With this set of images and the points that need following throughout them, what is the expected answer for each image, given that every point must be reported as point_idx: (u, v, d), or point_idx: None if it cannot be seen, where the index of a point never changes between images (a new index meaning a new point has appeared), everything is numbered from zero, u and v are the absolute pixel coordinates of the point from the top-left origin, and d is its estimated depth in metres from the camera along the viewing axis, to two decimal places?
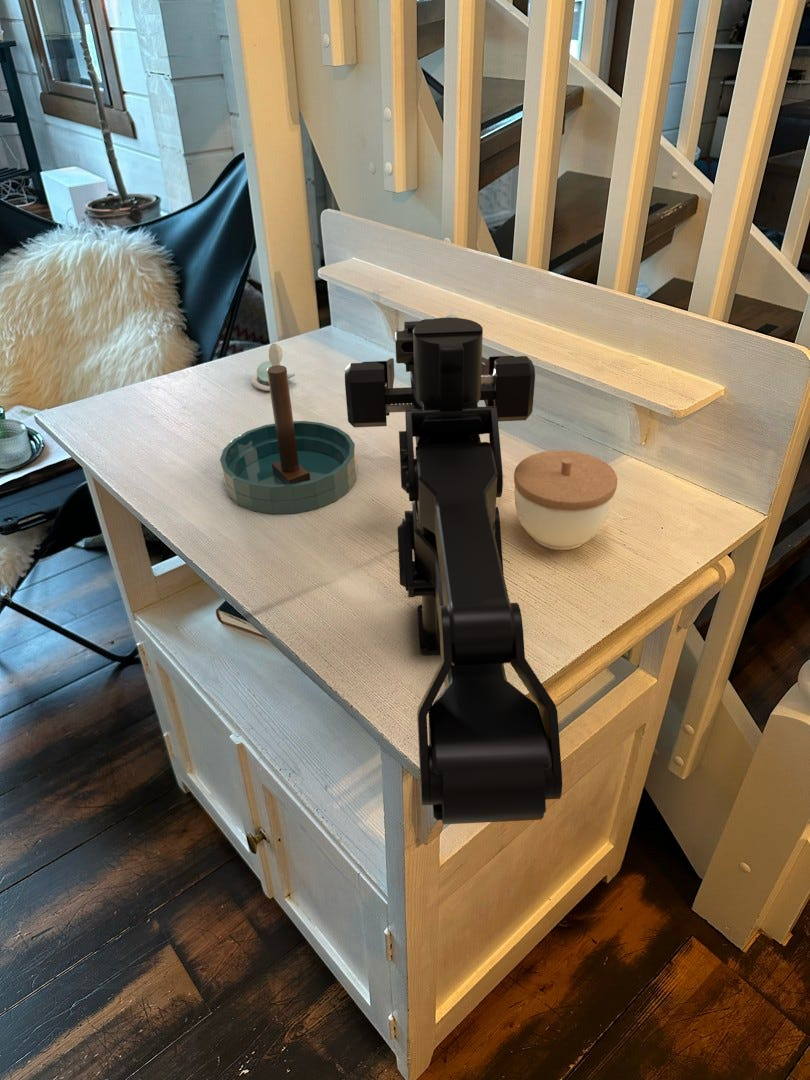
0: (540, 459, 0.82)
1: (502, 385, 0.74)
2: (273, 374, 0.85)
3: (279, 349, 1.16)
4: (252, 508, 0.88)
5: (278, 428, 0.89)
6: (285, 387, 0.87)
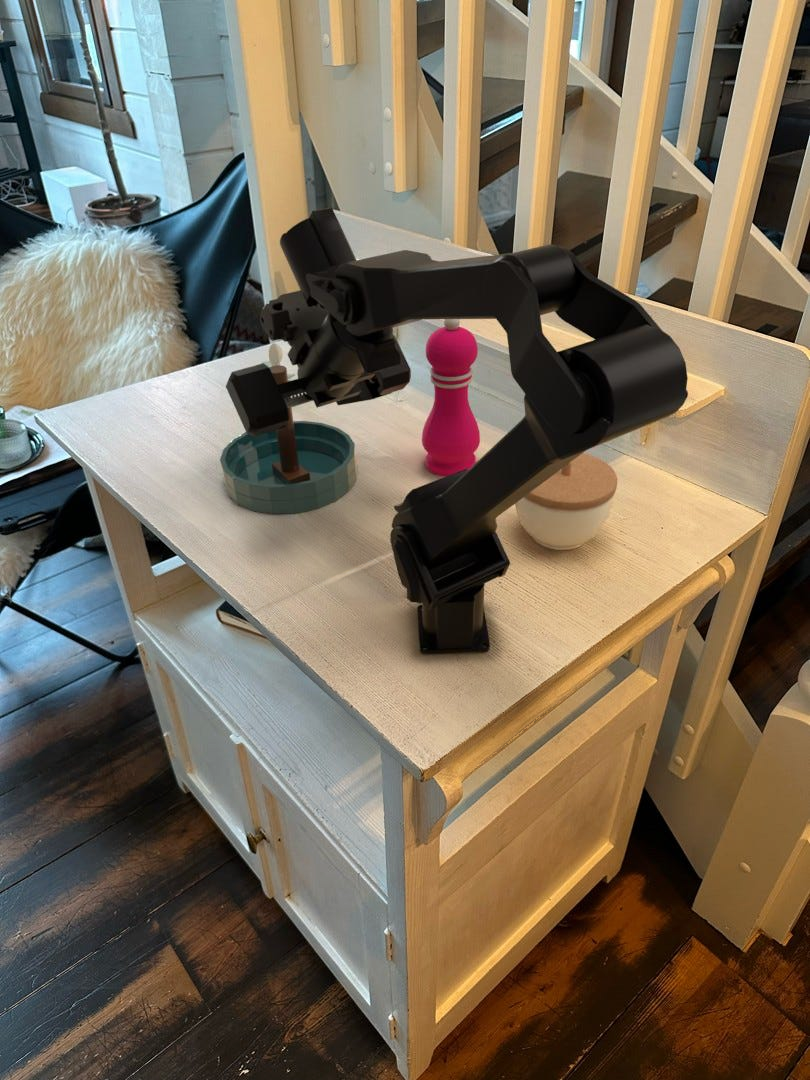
0: None
1: None
2: (273, 374, 0.85)
3: (279, 349, 1.16)
4: (252, 508, 0.88)
5: None
6: None
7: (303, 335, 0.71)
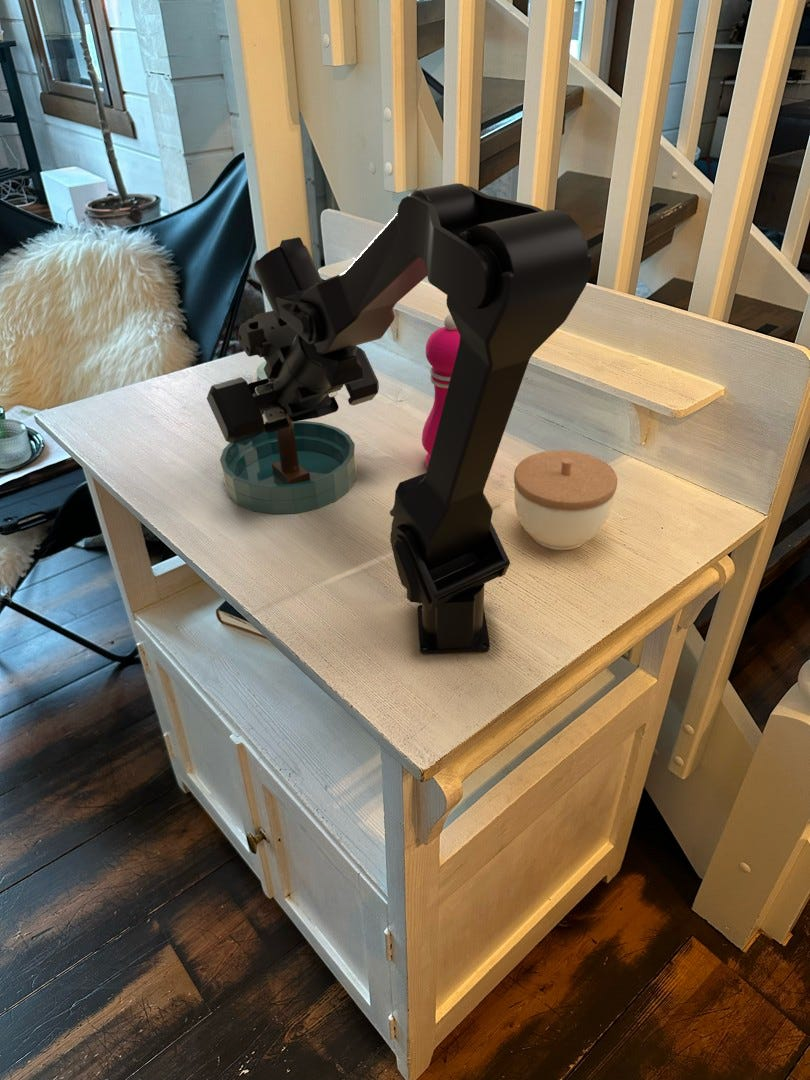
0: (540, 459, 0.82)
1: None
2: None
3: None
4: (252, 508, 0.88)
5: None
6: None
7: (276, 351, 0.78)
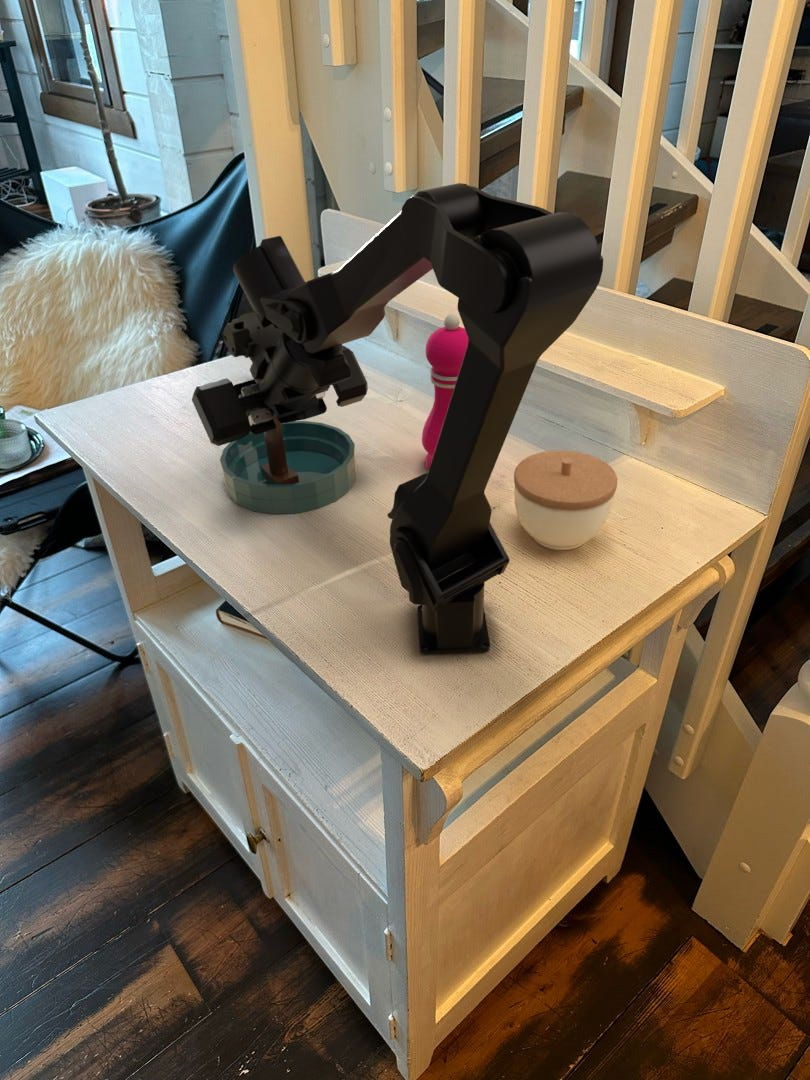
0: (540, 459, 0.82)
1: None
2: None
3: None
4: (252, 508, 0.88)
5: None
6: None
7: (262, 352, 0.77)
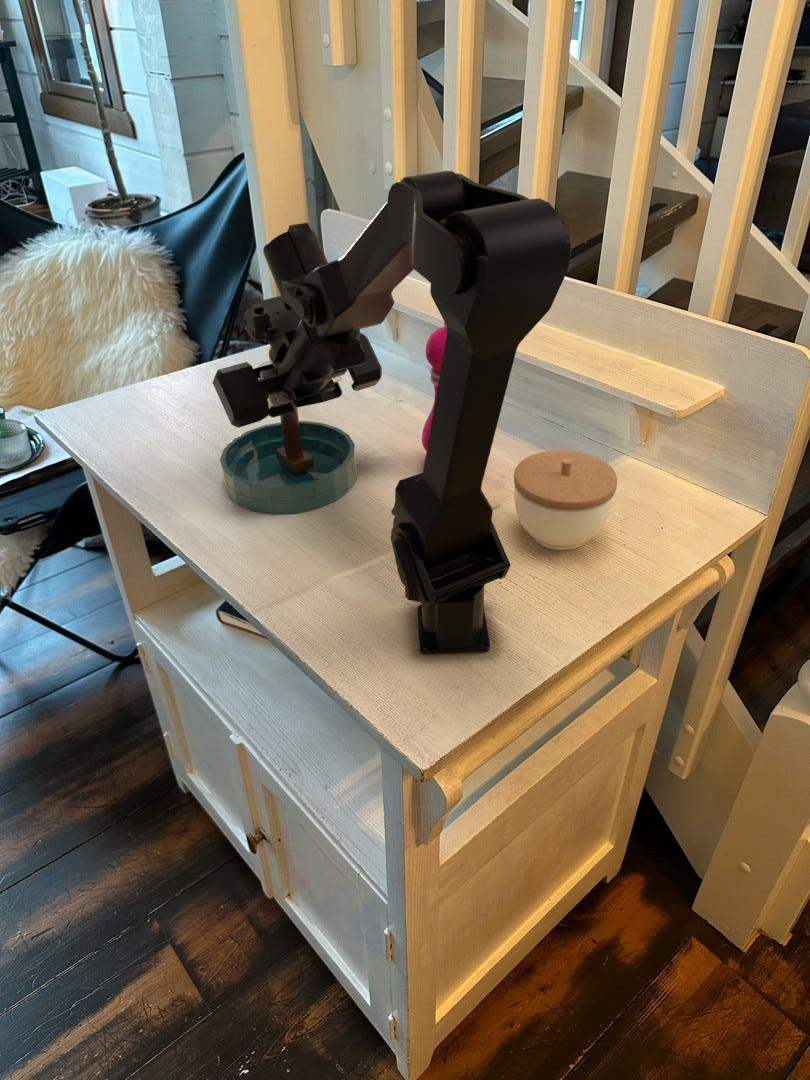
0: (540, 459, 0.82)
1: None
2: None
3: None
4: (252, 508, 0.88)
5: None
6: None
7: (281, 336, 0.79)
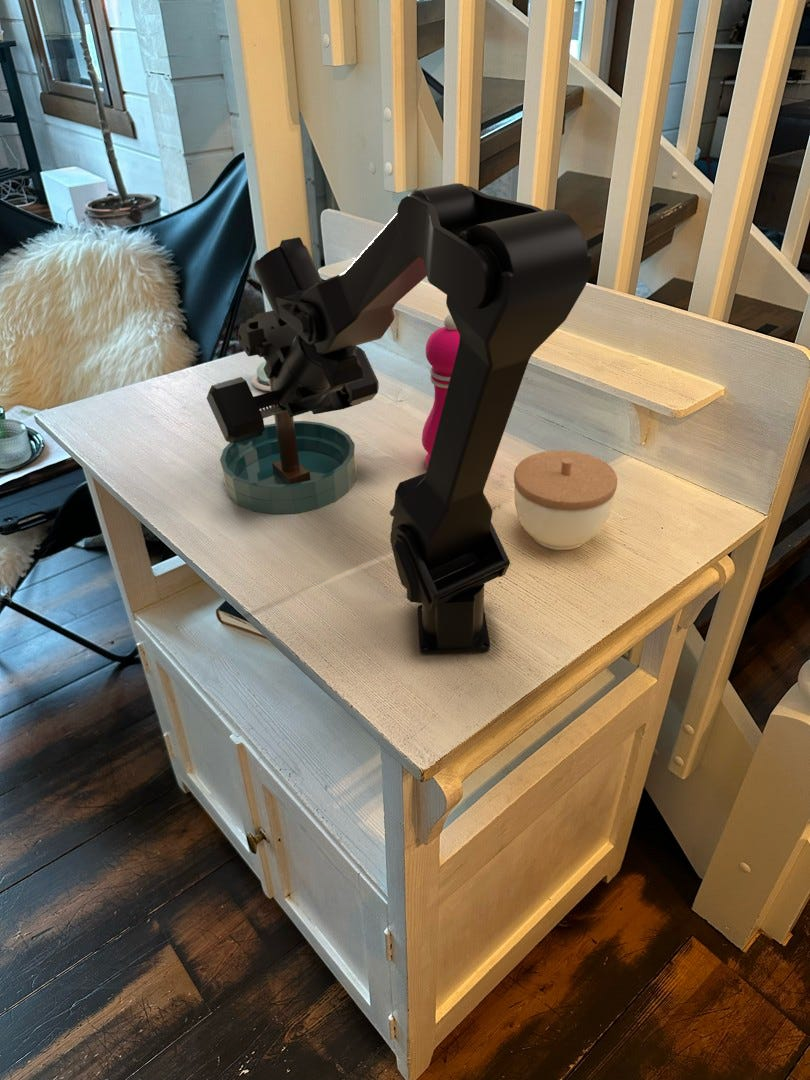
0: (540, 459, 0.82)
1: None
2: None
3: None
4: (252, 508, 0.88)
5: (278, 427, 0.90)
6: None
7: (276, 351, 0.78)
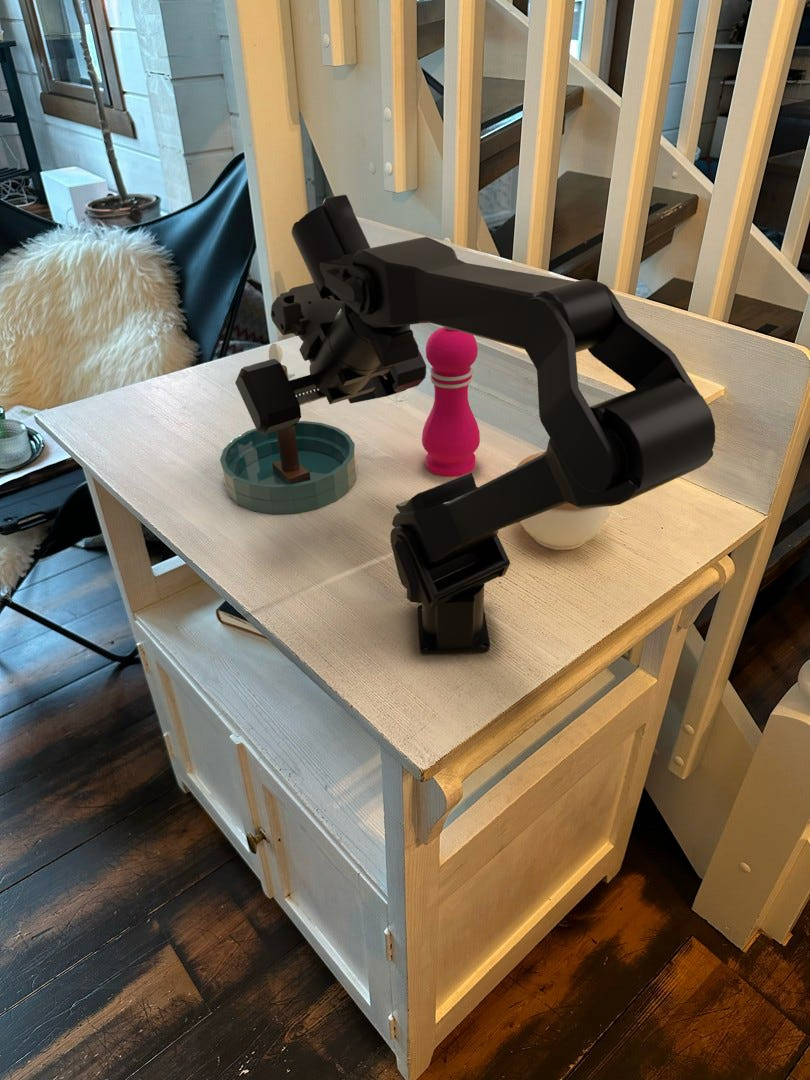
0: None
1: None
2: None
3: (279, 349, 1.16)
4: (252, 508, 0.88)
5: None
6: None
7: (316, 329, 0.68)
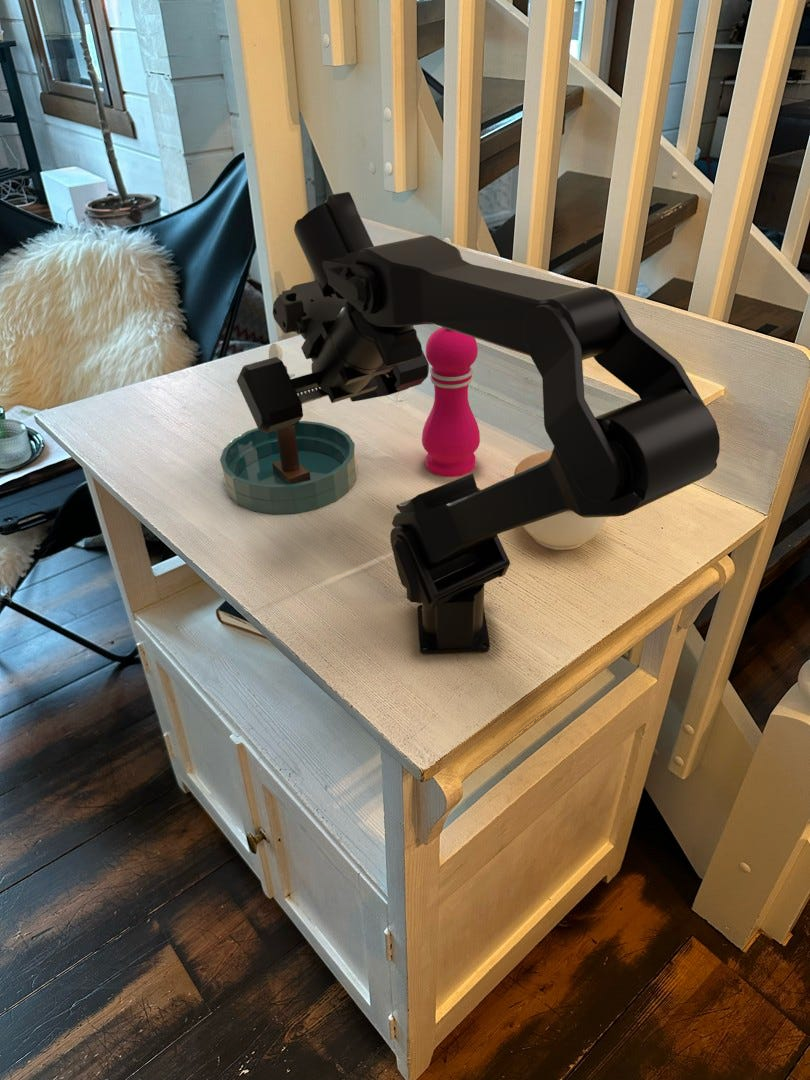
0: (540, 459, 0.82)
1: None
2: None
3: (279, 349, 1.16)
4: (252, 508, 0.88)
5: None
6: None
7: (318, 327, 0.68)
